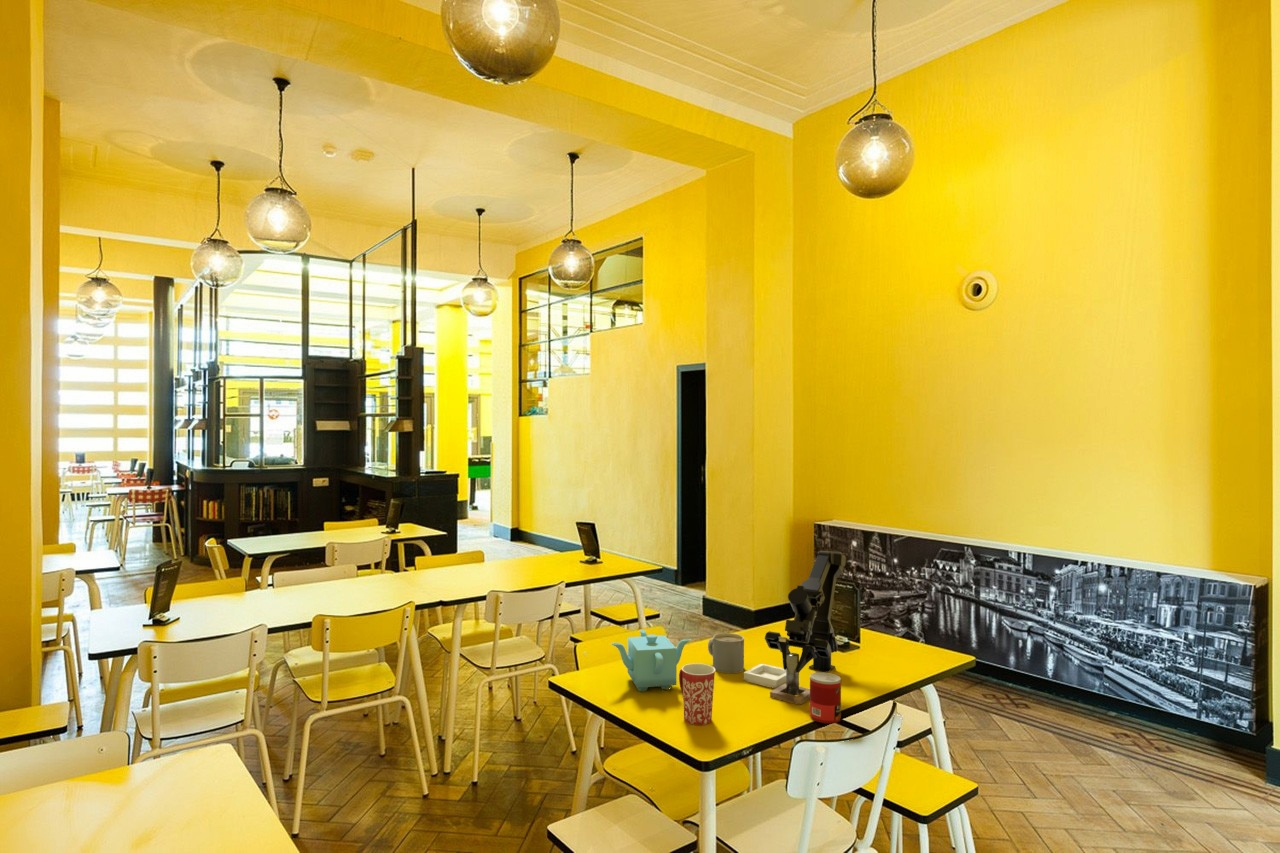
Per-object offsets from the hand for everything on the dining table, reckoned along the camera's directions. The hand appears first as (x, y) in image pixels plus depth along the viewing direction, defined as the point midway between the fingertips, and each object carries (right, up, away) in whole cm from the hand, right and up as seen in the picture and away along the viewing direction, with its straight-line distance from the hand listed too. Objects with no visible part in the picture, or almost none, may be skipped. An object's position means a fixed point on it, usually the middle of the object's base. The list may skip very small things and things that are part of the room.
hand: (791, 670), depth 201 cm
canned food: (+6, -8, -15) cm, 18 cm away
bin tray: (-4, -8, +15) cm, 17 cm away
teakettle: (-40, -8, +11) cm, 42 cm away
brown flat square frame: (+1, -8, +1) cm, 8 cm away
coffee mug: (-16, -8, +27) cm, 32 cm away
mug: (-29, -8, -15) cm, 33 cm away
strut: (+1, -7, +1) cm, 7 cm away
